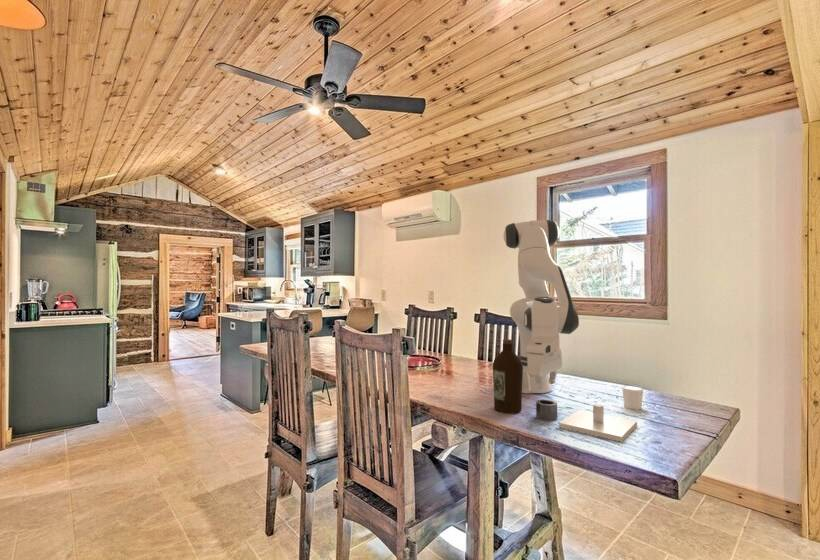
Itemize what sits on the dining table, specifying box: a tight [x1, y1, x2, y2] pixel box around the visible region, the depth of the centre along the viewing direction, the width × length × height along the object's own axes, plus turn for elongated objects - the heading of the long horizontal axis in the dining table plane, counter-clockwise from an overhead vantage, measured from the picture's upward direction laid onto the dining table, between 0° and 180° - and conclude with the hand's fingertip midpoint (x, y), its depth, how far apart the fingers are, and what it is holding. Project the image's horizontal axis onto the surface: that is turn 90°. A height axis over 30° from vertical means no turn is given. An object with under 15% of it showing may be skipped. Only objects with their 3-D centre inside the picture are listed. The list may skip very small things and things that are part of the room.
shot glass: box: [621, 385, 644, 410], centre depth 150 cm, size 7×7×7 cm
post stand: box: [558, 404, 638, 443], centre depth 129 cm, size 18×18×6 cm
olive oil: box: [492, 338, 523, 414], centre depth 147 cm, size 11×11×25 cm
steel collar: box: [535, 399, 558, 421], centre depth 138 cm, size 7×7×5 cm
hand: (546, 386), depth 138 cm, fingers open, 8 cm apart
